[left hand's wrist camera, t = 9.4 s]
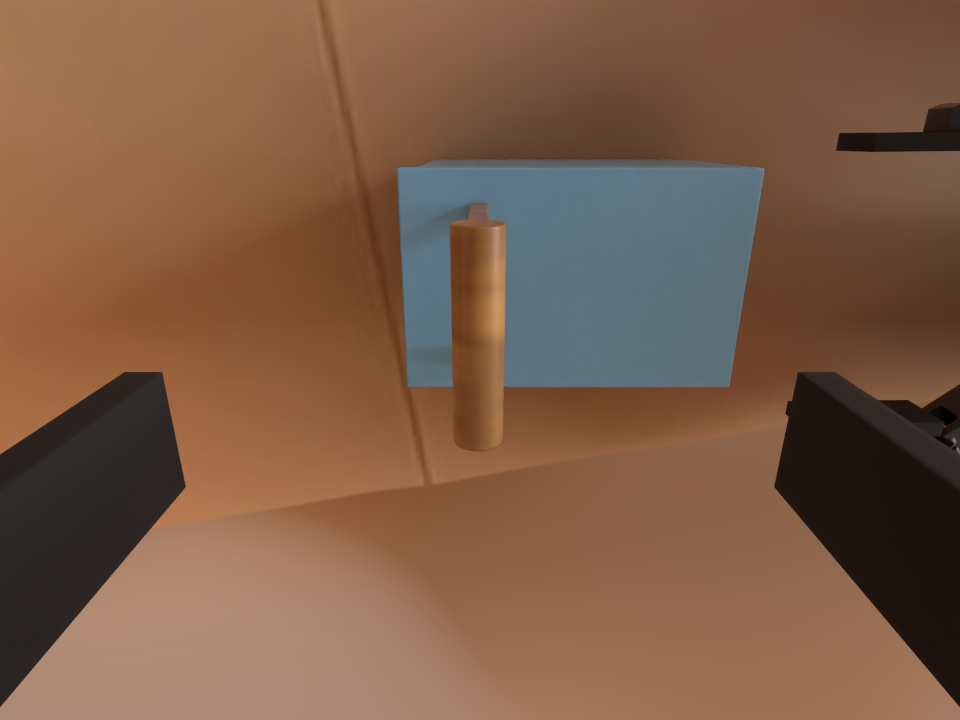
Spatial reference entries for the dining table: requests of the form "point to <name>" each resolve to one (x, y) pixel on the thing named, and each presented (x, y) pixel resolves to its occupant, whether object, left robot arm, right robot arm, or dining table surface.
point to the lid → (570, 280)
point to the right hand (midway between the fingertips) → (823, 292)
